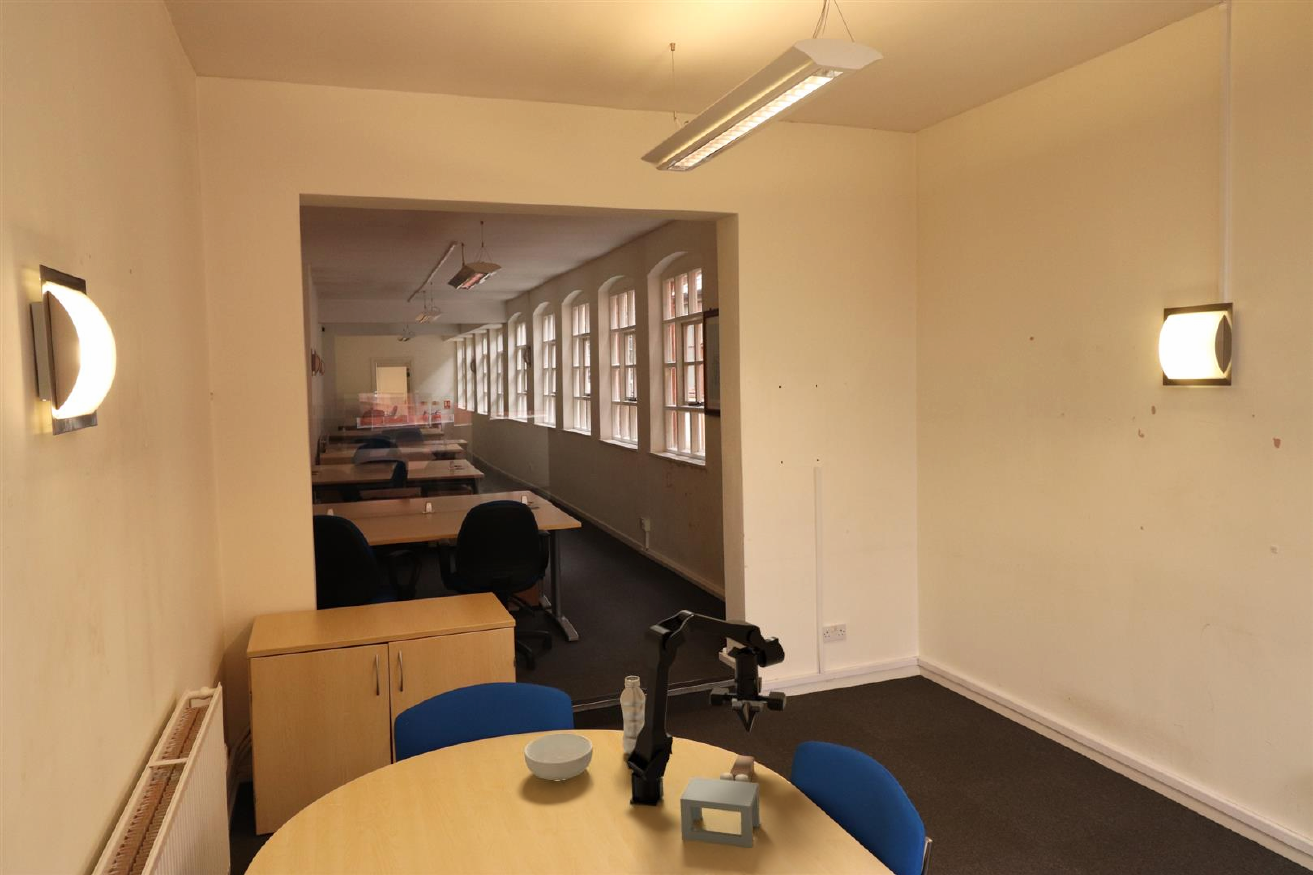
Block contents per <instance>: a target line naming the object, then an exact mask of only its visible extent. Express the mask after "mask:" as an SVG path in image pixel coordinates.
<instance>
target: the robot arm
mask: <svg viewBox="0 0 1313 875" xmlns="http://www.w3.org/2000/svg"><path fill="white" fill-rule="evenodd" d="M695 631H697V632H703V633H707V634H710V635H711V634H712V635H715V636H718V637H719V636H720V637H723V638H725V639H728V640H730V641H732V642H733V643H736V644H738V645H741V646H742V647H736V646H732V648H731V649H730V650H729V651H728V652H727V657H730V658H733V659H734V662H735V663H734V667H735V670H734V676H733V677H734V679H733V680H734V684H733V685H735V693H733V692H730V690H729V688H728V687H717V686H716V687H714V688H712V691H710V694H709V697H708V704H709V706H713V707H722V706H723V705H724V704H725V702H731V703H732V706H731V711H734V712H735V713H736V714H737V716H738V718H739V719H740V720H741V724H742V725H743V728H744V730H745V732H746V733H751V732H752V731H751V730H752V727H753V724H754V720H755V717H756V714H757V713H761V712H762V709H763V707H764V705H766V707H767V709H769V711H777V712H782V711H784V710H785V707H786V704H787V695H786V693H785V692H783V691H770V692H769V694H768V695H763V694H761V692H762V688H763V686H762V685H763V682H762V681H763V677H762V676H760V675H759V667H760V668H762V669H764V668H767V667H772V666H775V665H778V664H782V663H783V662H784V660H785V655H786V652H785V651H784V649H783V646H782V645H781V643H780V638H779V637H775V636H770V637H769V638H764V636H763V635H762V632H761V631H762V630H761V628H760V626H758V625H755V624H753V623H750V622H747V621H744V620H742V619H729V620H723V619H718V618H714V617H710V616H706V615H703V614H699V613H694V612H692V611H690V610H688V609H686V610H681V611H679V612H678V613H676V614H675V615H672V616H670V617H668V618H665V619H663V620H660V622H658V623H657V624H656V625H652V626H650V627H649V628H648V629H647V630H646V631H645V633H644V637H643V644H644V653H645V656H646V659H647V663H648V673H647V674H648V676H647V685H646V687H647V688H646V696H645V709H644V726H643V728H642V729H641V731H640V732H639V734H638V736H637V741H636V745H635V748H634V750H633V751H632V753H631V754H629V756H628V758H626V760H625V764H626V767H627V769H628V770H630V771H632V772H631V774H630V776H631V778H630V779H631V797H630V799H629V803H631V804H636V805H637V804H638V805H647V806H657V805H658V804H659V801H660V800H662V797H663V796H664V778H663V777H665V772H666V768H667V765H668V763H669V761H670V758H671V755H673V751H672V749H673V748H672V747H673V746H672V745H673V742H674V737H673V736H672V735H671V734H670V733H668V732H667V731H666V718H667V717H666V716H667V705H668V704H667V703H668V696H669V695H668V694H669V682H670V681H669V679H670V670H671V669H670V668H671V667H672V664H673V663H674V662H675V660H676V658H677V655H678V651H679V648H680V647H682V646H683V645H684V644H685V643H687V642H688V640H689V638H690V636H691V634H692V633H693V632H695ZM748 703H749V704H750V706H749V708H748Z"/></svg>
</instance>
